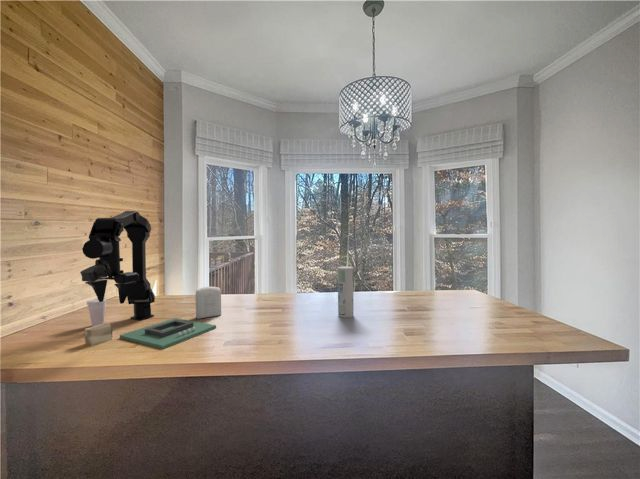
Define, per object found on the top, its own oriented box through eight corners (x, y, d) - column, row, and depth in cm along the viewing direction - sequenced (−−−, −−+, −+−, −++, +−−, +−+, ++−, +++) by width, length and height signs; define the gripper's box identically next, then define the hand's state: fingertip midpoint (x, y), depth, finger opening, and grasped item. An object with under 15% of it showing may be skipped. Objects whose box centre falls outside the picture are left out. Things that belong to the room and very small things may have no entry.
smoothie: (111, 323, 125) (110, 288, 124) (94, 328, 119) (92, 291, 119) (101, 321, 128) (99, 286, 127) (83, 326, 122) (82, 289, 121)
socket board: (119, 338, 109) (119, 330, 109) (175, 320, 129) (175, 314, 128) (163, 349, 99) (162, 341, 99) (216, 328, 119) (216, 321, 118)
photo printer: (219, 313, 139) (219, 284, 138) (222, 315, 135) (222, 286, 134) (194, 317, 133) (193, 287, 132) (197, 319, 129) (196, 289, 129)
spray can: (356, 316, 131) (356, 267, 130) (342, 318, 129) (341, 268, 128) (349, 312, 137) (349, 265, 136) (335, 314, 135) (335, 266, 134)
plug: (85, 344, 104) (84, 328, 104) (107, 337, 110) (106, 322, 110) (92, 346, 102) (91, 330, 102) (114, 339, 108) (113, 324, 108)
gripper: (63, 257, 102) (65, 306, 102) (107, 258, 96) (110, 310, 97) (97, 254, 112) (99, 298, 113) (139, 255, 106) (141, 302, 107)
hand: (111, 302), depth 107 cm, fingers open, 9 cm apart
